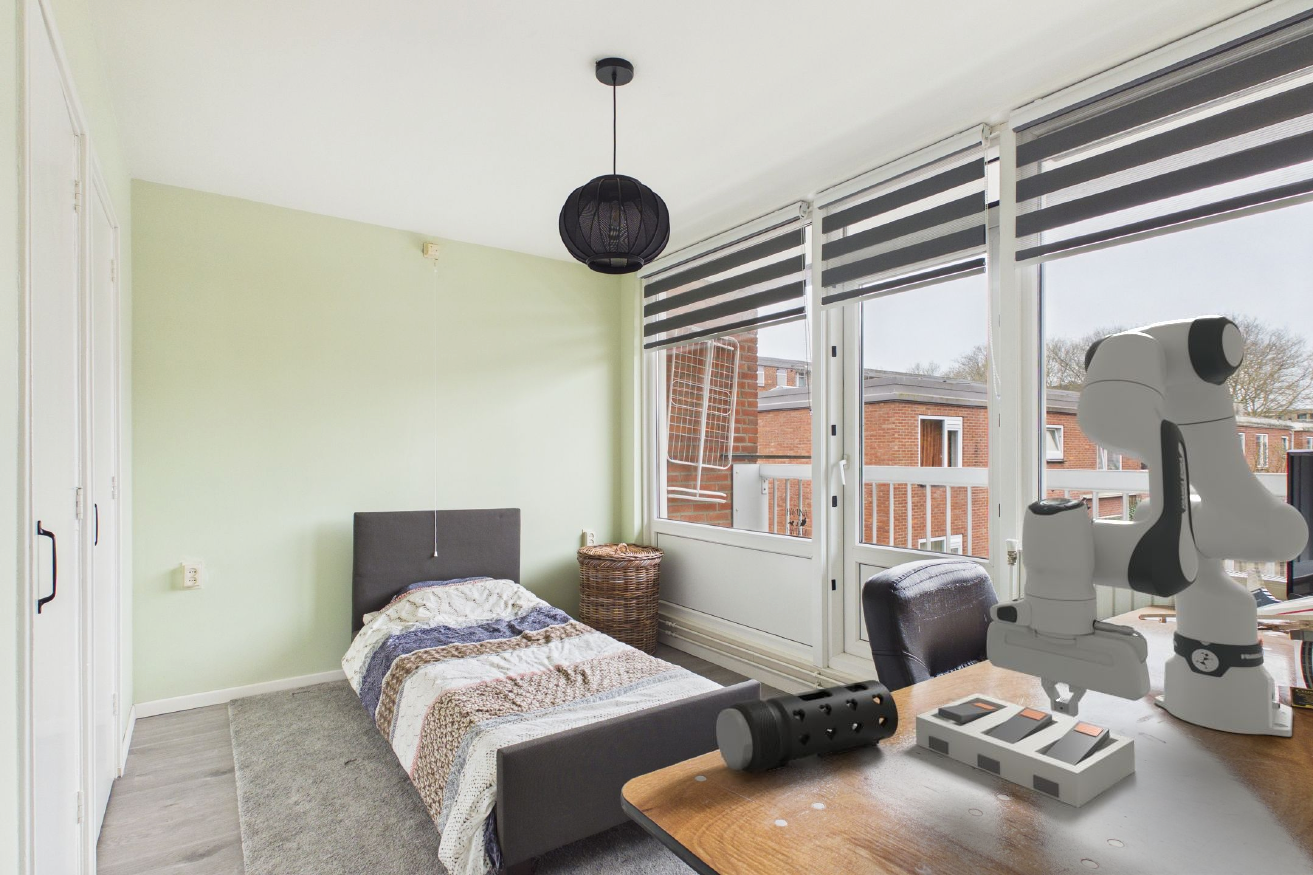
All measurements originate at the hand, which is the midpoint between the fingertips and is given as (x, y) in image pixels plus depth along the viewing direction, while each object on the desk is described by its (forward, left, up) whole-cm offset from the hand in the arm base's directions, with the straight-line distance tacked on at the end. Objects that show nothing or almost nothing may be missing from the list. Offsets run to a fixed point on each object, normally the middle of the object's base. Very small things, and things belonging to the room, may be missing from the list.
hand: (1064, 713), depth 94 cm
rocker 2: (-4, 0, -6) cm, 7 cm away
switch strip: (-4, -8, -10) cm, 14 cm away
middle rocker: (-4, -8, -6) cm, 11 cm away
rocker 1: (-4, -16, -6) cm, 18 cm away
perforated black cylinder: (+23, -27, -11) cm, 37 cm away
